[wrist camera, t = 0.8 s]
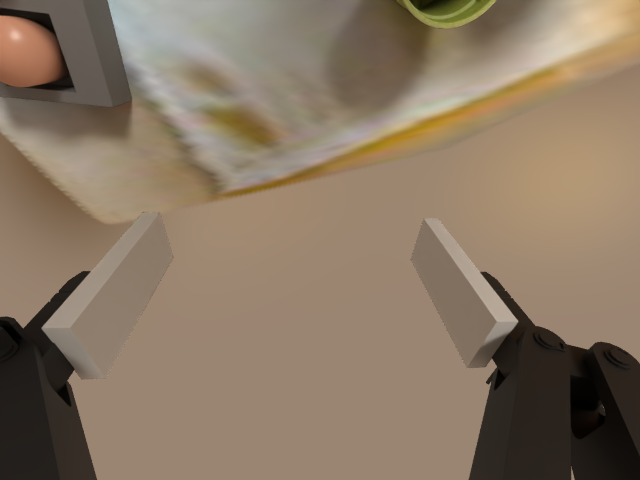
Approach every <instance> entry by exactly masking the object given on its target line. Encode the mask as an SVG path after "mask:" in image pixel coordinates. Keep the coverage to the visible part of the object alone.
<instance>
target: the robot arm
mask: <svg viewBox="0 0 640 480" xmlns="http://www.w3.org/2000/svg"><path fill="white" fill-rule="evenodd" d="M172 259H173V254H172V251H171V247H170V244H169V241H168V238H167V234H166V231H165V227H164V224H163V221H162V217H161V214H160V212H143V213H142V214H141V215H140V216H139V217H138V219H137V220H136V221H135V222H134V223H133V224H132V226H131V227H130V228H129V229H128V230H127V231H126V232H125V233H124V235H123V236H122V237H121V238H120V239H119V240H118V241H117V243H116V244H115V245H114V246H113V247H112V248H111V249H110V251H109V252H108V253H107V254H106V255H105V256H104V257H103V258H102V260H101V261H100V262H99V263H98V264H97V265H96V266H95V268H94V269H93V270H92V271H83V272H81V273H79V274H78V275H76V276H75V277H73V278H72V279H70V280H69V281H68V282H67V283H66V284H65V285H64V286H63V287H62V288H61V289H60V290H59V293H57V294H55V295H54V296H53V298H52V299H51V301H50V302H48V303H47V304H46V305H45V306H44V307H43V308H42V309H41V310H40V311H39V312H38V314H37V315H36V316H35V317H34V318H33V319H32V320H31V321H30V322H29V323H28V324H27V325H26V326H25V327H24V328H22V327H21V326H20V325H19V323H18V322H17V321H16V320H15V319H14V318H11V317H0V480H97V478H96V474H95V471H94V467H93V463H92V460H91V456H90V453H89V449H88V446H87V442H86V438H85V435H84V431H83V428H82V424H81V420H80V417H79V413H78V409H77V406H76V402H75V398H74V395H73V391H72V388H71V385H70V384H69V382H68V381H67V380H68V379H69V377H70V375H71V374H72V373H73V371H74V370H75V372H76V373H77V374H78V375H79V377H80V378H81V379H106V377H107V375H108V374H109V372H110V370H111V368H112V366H113V365H114V363H115V361H116V359H117V357H118V356H119V354H120V352H121V350H122V348H123V347H124V345H125V343H126V341H127V340H128V338H129V336H130V334H131V332H132V331H133V329H134V327H135V325H136V323H137V322H138V320H139V318H140V316H141V315H142V313H143V311H144V309H145V307H146V306H147V304H148V302H149V300H150V298H151V296H152V295H153V293H154V291H155V289H156V288H157V286H158V284H159V282H160V281H161V279H162V277H163V275H164V273H165V272H166V270H167V268H168V266H169V264H170V263H171V261H172ZM411 261H412V263H413V265H414V267H415V269H416V271H417V273H418V275H419V277H420V278H421V280H422V282H423V284H424V286H425V288H426V290H427V292H428V294H429V296H430V298H431V299H432V302H433V304H434V305H435V307H436V309H437V311H438V313H439V315H440V317H441V319H442V321H443V323H444V325H445V326H446V329H447V331H448V333H449V334H450V336H451V338H452V340H453V342H454V344H455V346H456V348H457V350H458V352H459V354H460V355H461V358H462V360H463V362H464V363H465V365H466V367H467V368H479V367H486V366H487V364H488V363H489V361H490V360H491V359H493V360H494V362H495V364H496V365H497V368H496V369H495V371H494V372H493V373H492V374H491V376H490V377H489V378H488V380H487V381H486V383H487V384H489V383H490V382H491V381H492V382H491V386H490V390H489V395H488V399H487V403H486V408H485V412H484V416H483V421H482V425H481V429H480V434H479V438H478V442H477V446H476V451H475V455H474V459H473V464H472V468H471V473H470V477H469V480H571V467H572V470H573V474H574V478H575V480H640V364H639V362H638V361H637V360H636V359H635V358H634V357H633V356H631V355H630V354H629V353H628V352H626V351H625V350H623V349H621V348H619V347H617V346H615V345H612V344H610V343H605V342H597V343H595V344H594V345H593V346H592V347H591V348H590V349H588V350H587V349H583V348H579V347H575V346H571V345H567V344H565V342H564V341H563V340H562V339H561V338H560V337H559V336H558V335H556V334H555V333H553V332H551V331H550V330H548V329H545V328H542V327H539V326H535V325H534V324H533V323H532V321H531V320H530V319H529V318H528V316H527V315H526V314H525V313H524V312H523V310H522V309H521V308H520V307H519V306H518V304H517V303H516V302H515V301H514V300H513V298H511V296H510V295H509V294H508V292H507V291H505V289H504V288H503V286H502V285H501V284H500V283H499V282H498V280H497V279H495V278H494V277H492V276H491V275H490V274H488V273H487V272H479V270H478V269H477V268H476V267H475V266H474V264H473V263H472V262H471V261H470V259H469V258H468V257H467V255H466V254H465V253H464V251H463V250H462V249H461V248H460V246H459V245H458V244H457V242H456V241H455V240H454V239H453V237H452V236H451V235H450V234H449V232H448V231H447V230H446V228H445V227H444V226H443V225H442V223H441V222H440V221H439V220H438V219H436V218H424V219H423V222H422V225H421V228H420V231H419V235H418V238H417V241H416V244H415V247H414V250H413V253H412V256H411ZM603 407H604V408H603ZM604 410H605V411H604Z"/></svg>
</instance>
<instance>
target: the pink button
mask: <svg viewBox="0 0 640 480" xmlns="http://www.w3.org/2000/svg"><path fill="white" fill-rule="evenodd" d="M68 73H69V70H68V67H67V64H66V61H65V58H64V55H63V52H62V49H61V47H60V44H59V41H58V38H57V35H56V34H55V33H54V32H53V31H52V30H51V29H50V28H48V27H47V26H46V25H44V24H42V23H41V22H39V21H37V20H34V19H31V18H26V17H14V16H1V15H0V81H1V82H3V83H5V84H8V85H10V86H14V87H29V86H34V85H40V84H45V83H51V82H57V81H61V80H63V79H64V78H65V77H66V76H67V75H68Z"/></svg>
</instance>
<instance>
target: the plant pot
mask: <svg viewBox="0 0 640 480" xmlns="http://www.w3.org/2000/svg"><path fill="white" fill-rule="evenodd" d="M396 1H397V3H398V4H400V5H401V6H402V7H404V8H406V9H408V10H409V12H410V13H411V14H412V15H413V16H414V17H415V18H416V19H418V20H419V21H420V22H422V23H424V24H426V25H428V26H430V27H434V28H439V29H450V28H456V27H460V26H463V25H465V24H467V23H469V22H471V21H473V20H475V19H476V18H478V17H479V16H480V15H482V14H483V13H484V12H486V11H487V10H488V9H489V8H490V7H491V6H492V5H493V4H494V3H495V2H496V0H396Z"/></svg>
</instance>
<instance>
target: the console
mask: <svg viewBox="0 0 640 480" xmlns="http://www.w3.org/2000/svg"><path fill="white" fill-rule="evenodd" d="M0 15H1V16H14V17H26V18H31V19H34V20H37V21H39V22H41V23H42V24H44V25H46V26H47V27H48V28H50V29H51V30H52V31H53V32H54V33H55V34H56V35H57V38H58V41H59V44H60V47H61V49H62V52H63V55H64V58H65V61H66V64H67V67H68V70H69V73H68V75H67V76H66V77H65V78H64V79H63V80H61V81H57V82H51V83H45V84H40V85H34V86H29V87H14V86H10V85H8V84H5V83H3V82H1V81H0V97H10V98H21V99H31V100H42V101H53V102H64V103H75V104H85V105H96V106H107V107H115V106H118V105H120V104H123V103H126V102H128V101H131V100H132V97H131V93H130V89H129V85H128V81H127V77H126V73H125V69H124V65H123V61H122V57H121V53H120V49H119V45H118V41H117V37H116V33H115V29H114V25H113V21H112V17H111V13H110V9H109V6H108V2H107V0H0Z"/></svg>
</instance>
